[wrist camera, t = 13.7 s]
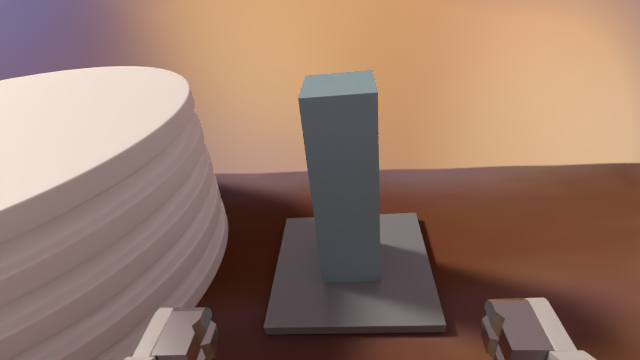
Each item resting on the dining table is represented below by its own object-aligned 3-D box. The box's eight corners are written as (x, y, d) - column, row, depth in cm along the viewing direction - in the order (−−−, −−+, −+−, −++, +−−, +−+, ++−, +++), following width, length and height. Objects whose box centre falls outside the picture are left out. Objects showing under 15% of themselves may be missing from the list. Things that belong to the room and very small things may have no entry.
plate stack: (-228, 307, 28) (-398, 175, 22) (131, 152, 45) (91, 55, 39) (-306, 736, 11) (-1081, 680, 5) (302, 233, 29) (279, 89, 23)
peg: (322, 282, 23) (298, 98, 17) (325, 244, 26) (305, 75, 20) (380, 281, 23) (377, 92, 17) (376, 242, 26) (372, 70, 20)
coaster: (265, 334, 21) (263, 327, 21) (287, 224, 30) (286, 218, 29) (445, 332, 20) (446, 325, 20) (415, 219, 29) (415, 212, 28)
